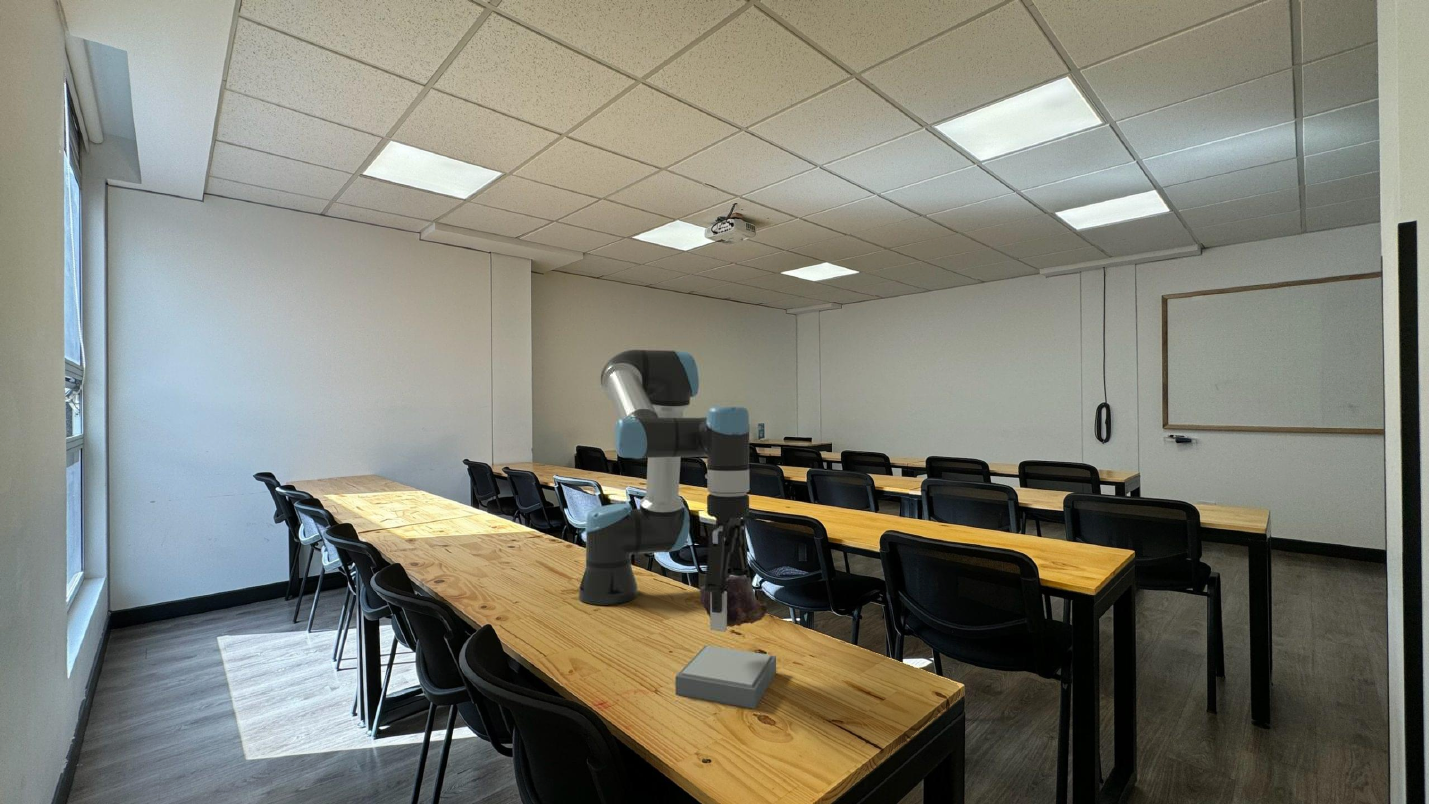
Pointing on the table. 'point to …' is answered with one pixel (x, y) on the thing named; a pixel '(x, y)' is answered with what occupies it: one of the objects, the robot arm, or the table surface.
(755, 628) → the table surface
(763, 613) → the rock
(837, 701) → the table surface
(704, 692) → the grey flat square block
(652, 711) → the table surface
